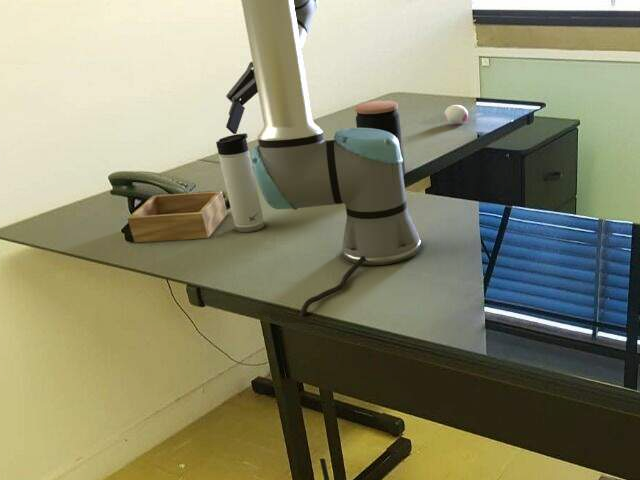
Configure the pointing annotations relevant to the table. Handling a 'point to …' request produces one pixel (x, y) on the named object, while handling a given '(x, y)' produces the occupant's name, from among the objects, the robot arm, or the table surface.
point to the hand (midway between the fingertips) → (255, 131)
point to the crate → (178, 216)
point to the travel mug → (240, 182)
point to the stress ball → (456, 114)
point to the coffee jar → (381, 119)
